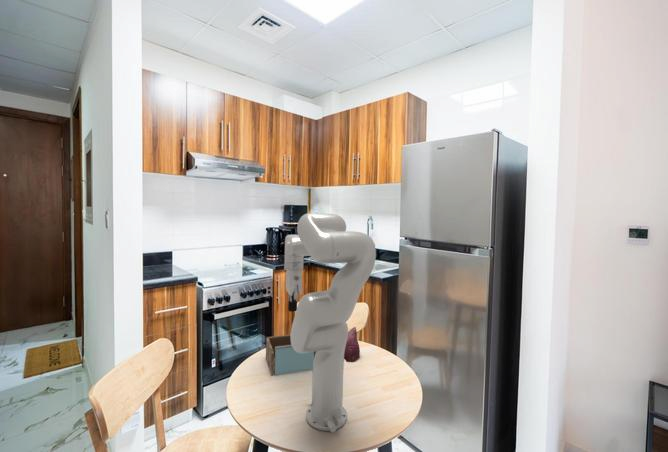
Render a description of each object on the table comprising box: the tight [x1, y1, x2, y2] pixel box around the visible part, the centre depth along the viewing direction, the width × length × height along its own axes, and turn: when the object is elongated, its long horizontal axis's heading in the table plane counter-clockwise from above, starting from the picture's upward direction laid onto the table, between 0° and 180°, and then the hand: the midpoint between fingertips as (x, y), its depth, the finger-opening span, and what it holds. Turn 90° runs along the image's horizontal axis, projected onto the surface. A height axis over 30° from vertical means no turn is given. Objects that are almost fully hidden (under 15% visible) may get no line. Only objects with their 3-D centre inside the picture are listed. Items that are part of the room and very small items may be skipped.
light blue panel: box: [274, 345, 314, 376], centre depth 118 cm, size 1×15×11 cm, turn 110°
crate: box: [265, 334, 317, 377], centre depth 125 cm, size 15×18×10 cm
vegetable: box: [344, 326, 361, 363], centre depth 135 cm, size 10×10×15 cm
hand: (292, 310), depth 123 cm, fingers closed
